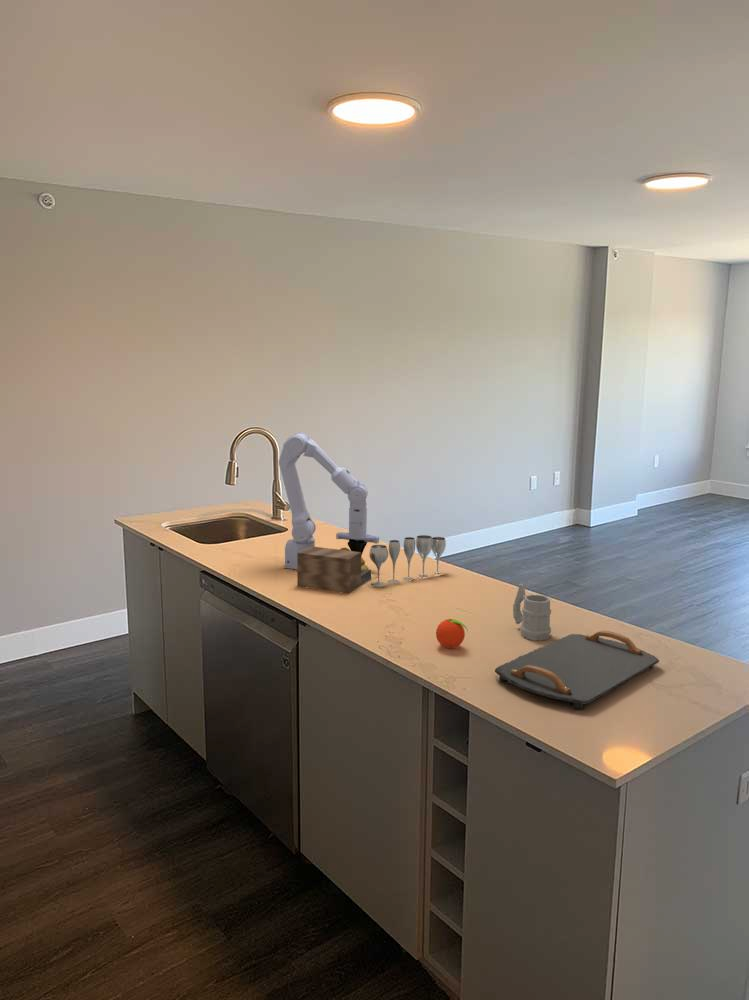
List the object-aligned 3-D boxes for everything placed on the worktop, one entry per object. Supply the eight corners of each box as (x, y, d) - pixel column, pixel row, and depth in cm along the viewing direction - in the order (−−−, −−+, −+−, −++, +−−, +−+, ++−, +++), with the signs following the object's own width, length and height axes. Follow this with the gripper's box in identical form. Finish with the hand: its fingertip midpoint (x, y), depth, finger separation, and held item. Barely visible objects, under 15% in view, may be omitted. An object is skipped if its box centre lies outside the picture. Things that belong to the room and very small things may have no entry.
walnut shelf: (297, 586, 233) (297, 552, 231) (322, 572, 248) (322, 540, 246) (348, 593, 226) (348, 559, 224) (371, 579, 241) (371, 546, 240)
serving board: (578, 721, 150) (580, 691, 148) (483, 684, 166) (484, 657, 164) (666, 667, 176) (668, 642, 175) (577, 640, 192) (578, 617, 191)
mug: (535, 643, 189) (537, 596, 187) (502, 629, 199) (504, 584, 196) (557, 637, 193) (560, 591, 191) (523, 623, 203) (526, 580, 201)
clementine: (472, 645, 187) (473, 617, 185) (463, 655, 181) (464, 626, 179) (441, 640, 190) (441, 612, 189) (431, 649, 184) (432, 621, 182)
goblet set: (437, 571, 252) (439, 531, 249) (448, 575, 247) (450, 535, 245) (365, 583, 237) (366, 541, 235) (375, 588, 232) (376, 545, 230)
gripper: (383, 521, 250) (382, 561, 253) (342, 517, 256) (342, 557, 258) (374, 525, 244) (374, 567, 246) (333, 521, 249) (333, 561, 252)
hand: (357, 562), depth 252 cm, fingers closed
